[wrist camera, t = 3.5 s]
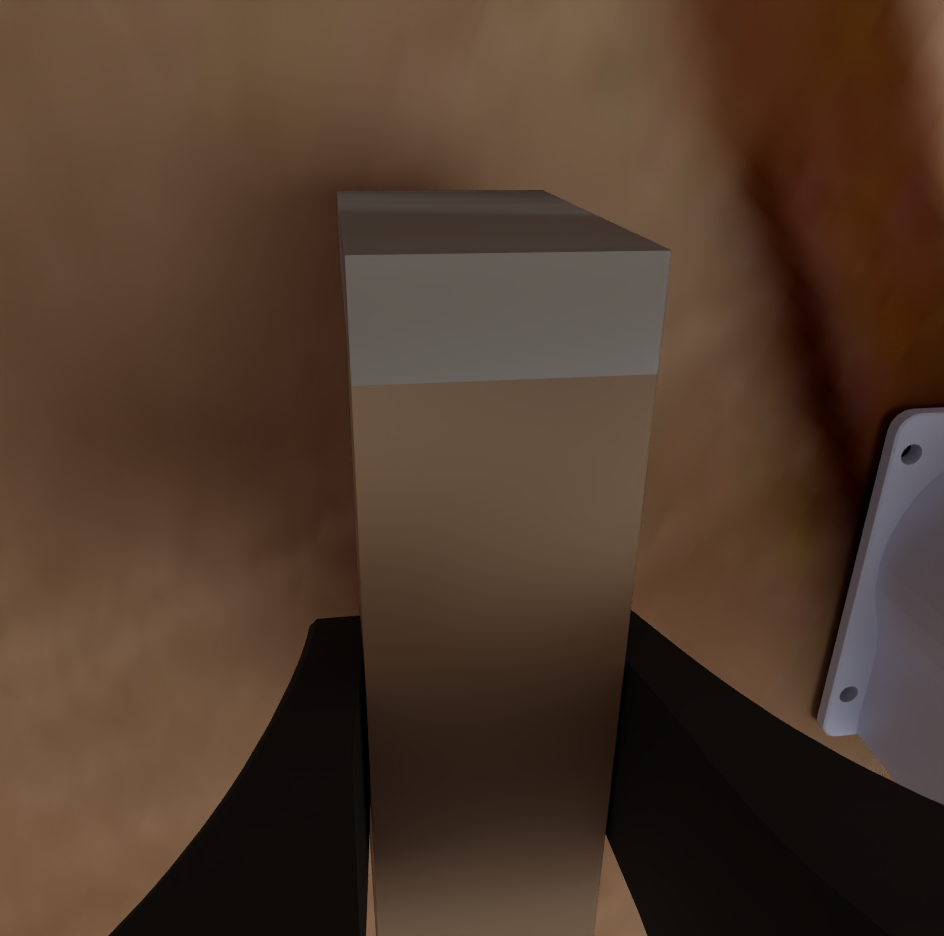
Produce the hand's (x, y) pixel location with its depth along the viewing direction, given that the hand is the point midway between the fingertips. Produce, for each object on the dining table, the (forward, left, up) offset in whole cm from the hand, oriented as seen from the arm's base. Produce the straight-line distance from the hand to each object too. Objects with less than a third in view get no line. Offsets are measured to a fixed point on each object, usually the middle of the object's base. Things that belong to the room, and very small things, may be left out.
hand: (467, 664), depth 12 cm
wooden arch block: (0, 0, -3) cm, 3 cm away
